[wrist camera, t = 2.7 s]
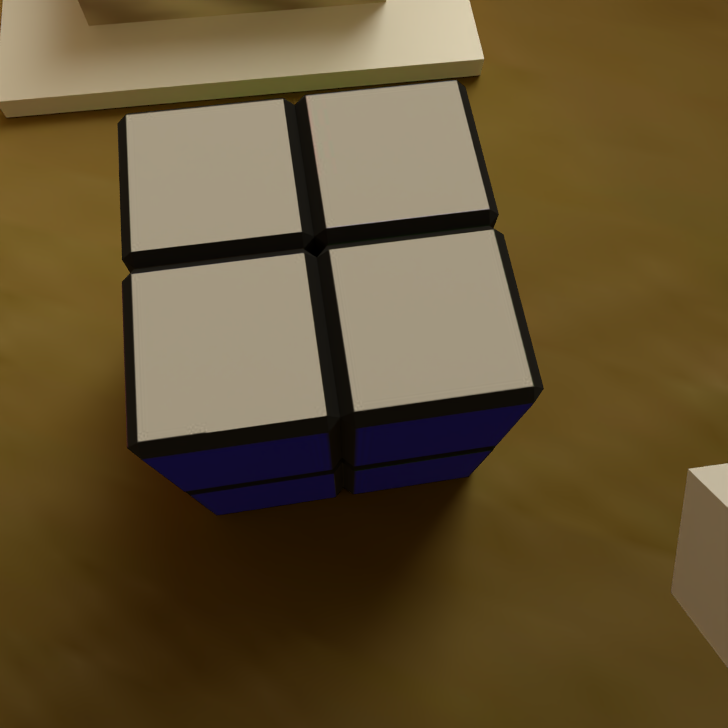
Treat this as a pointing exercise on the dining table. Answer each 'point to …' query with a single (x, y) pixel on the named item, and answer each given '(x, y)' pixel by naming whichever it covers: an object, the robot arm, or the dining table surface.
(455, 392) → the puzzle cube
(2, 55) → the build plate
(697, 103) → the dining table surface
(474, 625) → the dining table surface
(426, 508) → the dining table surface
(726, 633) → the robot arm
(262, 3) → the base block
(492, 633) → the dining table surface
